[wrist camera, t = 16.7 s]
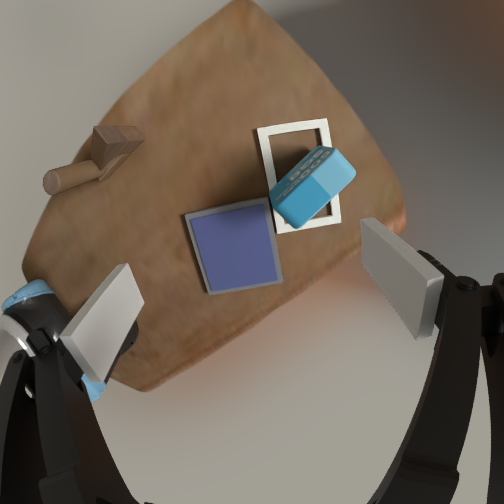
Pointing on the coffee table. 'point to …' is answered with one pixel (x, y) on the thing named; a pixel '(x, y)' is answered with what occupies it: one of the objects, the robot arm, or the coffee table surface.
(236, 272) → the ink pad
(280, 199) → the data package
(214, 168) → the coffee table surface
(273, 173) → the frame
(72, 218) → the coffee table surface
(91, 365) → the robot arm
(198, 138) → the coffee table surface
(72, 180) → the brown wooden mallet
